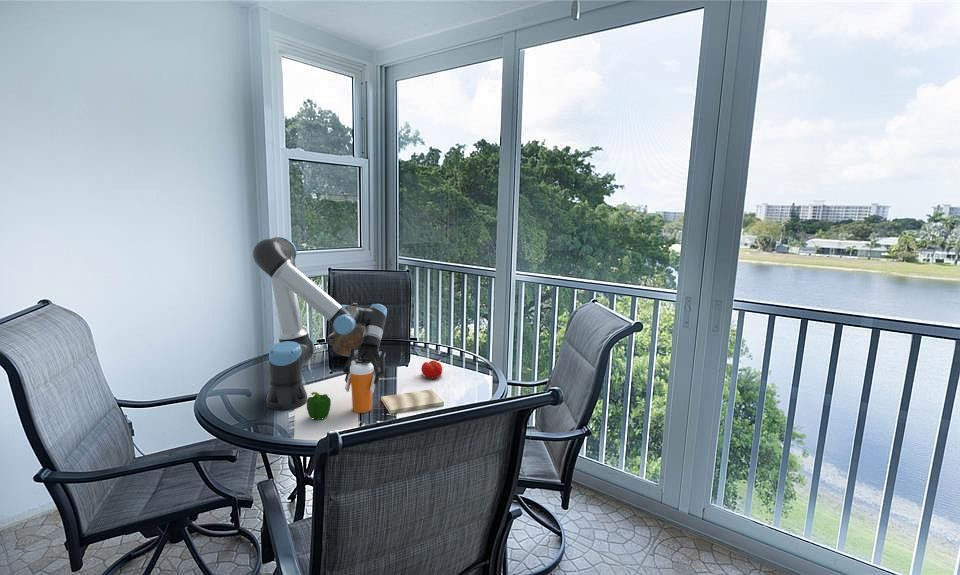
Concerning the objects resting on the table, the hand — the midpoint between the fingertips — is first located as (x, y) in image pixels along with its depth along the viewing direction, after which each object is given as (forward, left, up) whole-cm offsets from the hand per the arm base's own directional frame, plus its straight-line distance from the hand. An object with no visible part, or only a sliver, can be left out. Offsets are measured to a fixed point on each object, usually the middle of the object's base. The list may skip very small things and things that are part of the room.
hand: (359, 391), depth 177 cm
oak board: (+22, +2, -9) cm, 23 cm away
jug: (+11, +65, -9) cm, 66 cm away
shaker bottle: (+2, +3, -9) cm, 10 cm away
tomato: (+40, +28, -9) cm, 49 cm away
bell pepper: (-14, +2, -9) cm, 17 cm away
